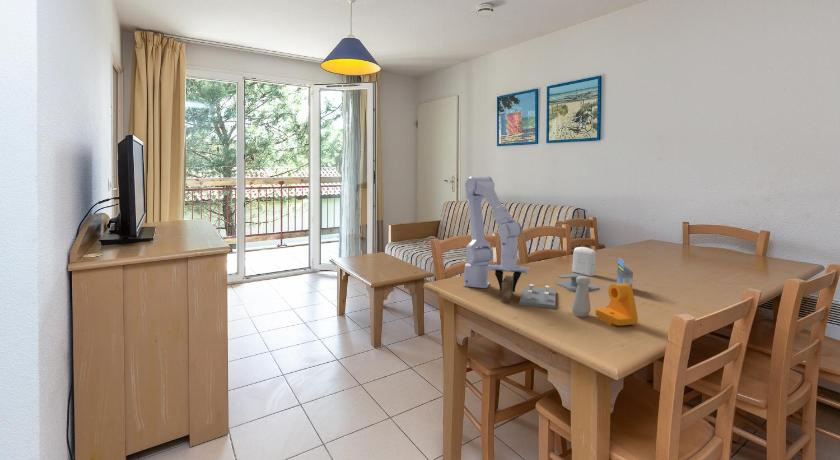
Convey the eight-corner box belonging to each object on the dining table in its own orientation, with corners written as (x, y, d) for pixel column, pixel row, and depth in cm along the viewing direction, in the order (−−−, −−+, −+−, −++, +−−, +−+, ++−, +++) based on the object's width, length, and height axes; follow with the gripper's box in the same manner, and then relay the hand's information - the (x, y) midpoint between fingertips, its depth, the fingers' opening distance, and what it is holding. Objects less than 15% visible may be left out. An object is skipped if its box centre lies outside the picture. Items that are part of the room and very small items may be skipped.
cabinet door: (498, 302, 151) (499, 283, 150) (502, 292, 162) (503, 275, 161) (509, 303, 149) (510, 284, 148) (512, 293, 161) (513, 276, 160)
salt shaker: (568, 312, 140) (570, 274, 138) (584, 312, 141) (587, 274, 139) (576, 318, 134) (578, 279, 133) (593, 318, 135) (596, 278, 133)
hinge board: (519, 304, 147) (519, 294, 147) (523, 289, 166) (524, 280, 166) (555, 308, 144) (555, 298, 143) (555, 292, 163) (555, 283, 162)
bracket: (593, 316, 137) (596, 280, 135) (612, 314, 139) (615, 279, 137) (616, 328, 127) (620, 289, 125) (637, 326, 128) (640, 288, 127)
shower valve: (550, 272, 174) (579, 269, 179) (549, 285, 175) (578, 282, 180) (570, 279, 162) (601, 276, 168) (569, 293, 163) (600, 290, 168)
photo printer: (596, 275, 190) (597, 248, 188) (590, 276, 188) (592, 249, 186) (576, 270, 198) (577, 245, 197) (570, 272, 196) (572, 246, 194)
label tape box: (632, 293, 163) (635, 262, 162) (621, 292, 164) (623, 261, 162) (626, 286, 172) (628, 257, 170) (615, 286, 173) (617, 257, 171)
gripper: (487, 255, 152) (486, 291, 154) (528, 258, 147) (526, 295, 149) (490, 251, 158) (489, 286, 160) (529, 254, 154) (528, 290, 156)
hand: (507, 290), depth 155 cm, fingers open, 4 cm apart
